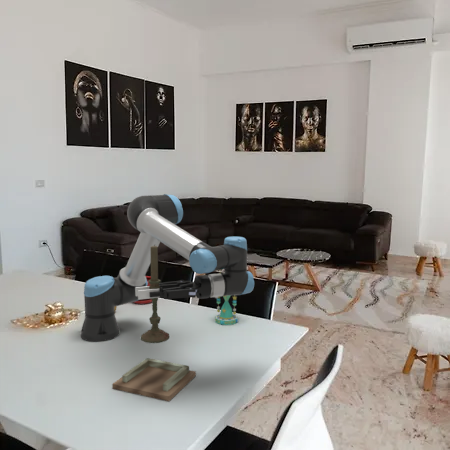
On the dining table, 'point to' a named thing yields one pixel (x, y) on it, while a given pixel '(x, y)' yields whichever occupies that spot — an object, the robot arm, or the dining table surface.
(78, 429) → the dining table surface
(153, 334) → the candlestick holder
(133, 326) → the dining table surface
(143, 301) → the plant pot
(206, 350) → the dining table surface
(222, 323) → the decorative hourglass
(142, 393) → the railed board
